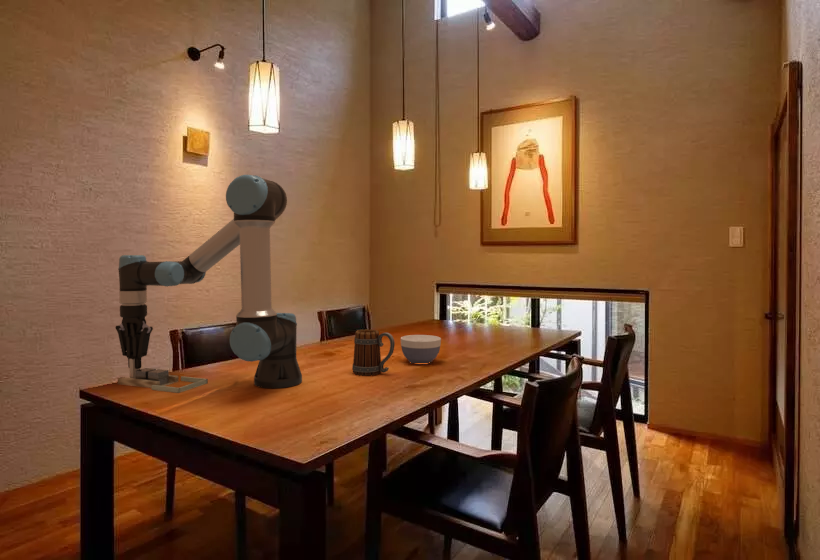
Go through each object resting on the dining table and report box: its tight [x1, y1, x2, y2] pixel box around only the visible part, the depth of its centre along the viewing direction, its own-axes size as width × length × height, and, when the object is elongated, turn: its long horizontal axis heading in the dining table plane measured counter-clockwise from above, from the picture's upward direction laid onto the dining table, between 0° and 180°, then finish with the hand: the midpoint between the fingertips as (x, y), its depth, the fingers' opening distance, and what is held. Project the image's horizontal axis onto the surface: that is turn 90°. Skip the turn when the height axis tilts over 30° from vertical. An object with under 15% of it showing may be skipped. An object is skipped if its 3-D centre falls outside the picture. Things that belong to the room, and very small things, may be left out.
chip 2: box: [148, 368, 170, 385], centre depth 154 cm, size 4×4×4 cm
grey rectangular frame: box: [151, 376, 209, 394], centre depth 152 cm, size 10×12×3 cm
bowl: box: [400, 334, 442, 364], centre depth 196 cm, size 16×16×10 cm
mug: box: [351, 329, 395, 377], centre depth 177 cm, size 16×11×15 cm
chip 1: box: [136, 367, 157, 380], centre depth 156 cm, size 4×4×4 cm
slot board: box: [117, 374, 180, 389], centre depth 156 cm, size 15×9×3 cm, turn 71°
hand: (135, 378), depth 158 cm, fingers closed
